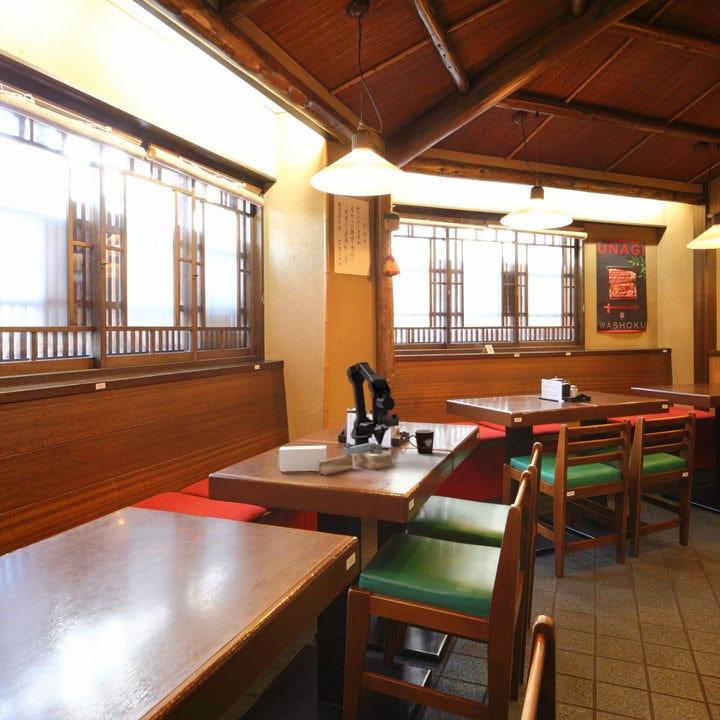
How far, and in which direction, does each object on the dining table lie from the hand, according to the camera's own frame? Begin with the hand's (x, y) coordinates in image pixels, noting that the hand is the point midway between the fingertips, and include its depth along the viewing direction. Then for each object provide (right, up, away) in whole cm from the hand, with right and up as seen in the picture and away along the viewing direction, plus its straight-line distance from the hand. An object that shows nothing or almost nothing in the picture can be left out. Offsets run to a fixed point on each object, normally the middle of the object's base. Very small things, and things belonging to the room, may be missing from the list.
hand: (379, 444), depth 236 cm
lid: (-3, -3, -9) cm, 10 cm away
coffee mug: (+19, -6, +12) cm, 23 cm away
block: (-8, -2, -8) cm, 12 cm away
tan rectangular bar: (-18, -8, -16) cm, 25 cm away
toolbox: (-3, -7, -9) cm, 12 cm away
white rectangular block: (-31, -9, -13) cm, 35 cm away
